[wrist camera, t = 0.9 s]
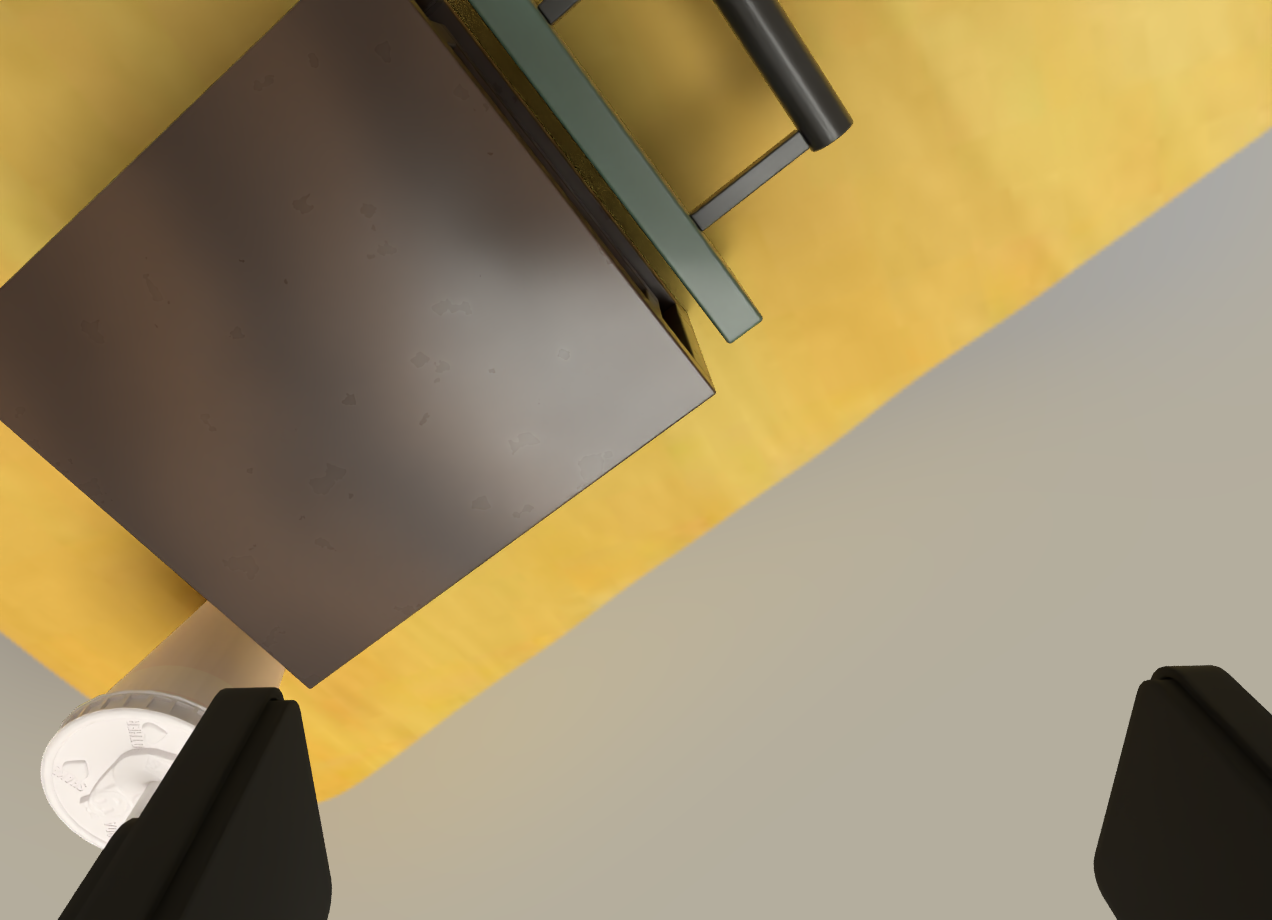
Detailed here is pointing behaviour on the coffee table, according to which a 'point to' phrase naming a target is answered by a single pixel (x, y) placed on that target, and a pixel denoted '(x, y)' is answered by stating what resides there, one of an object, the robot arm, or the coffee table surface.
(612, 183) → the drawer
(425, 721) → the coffee table surface
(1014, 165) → the coffee table surface
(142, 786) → the smoothie
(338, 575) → the cabinet
